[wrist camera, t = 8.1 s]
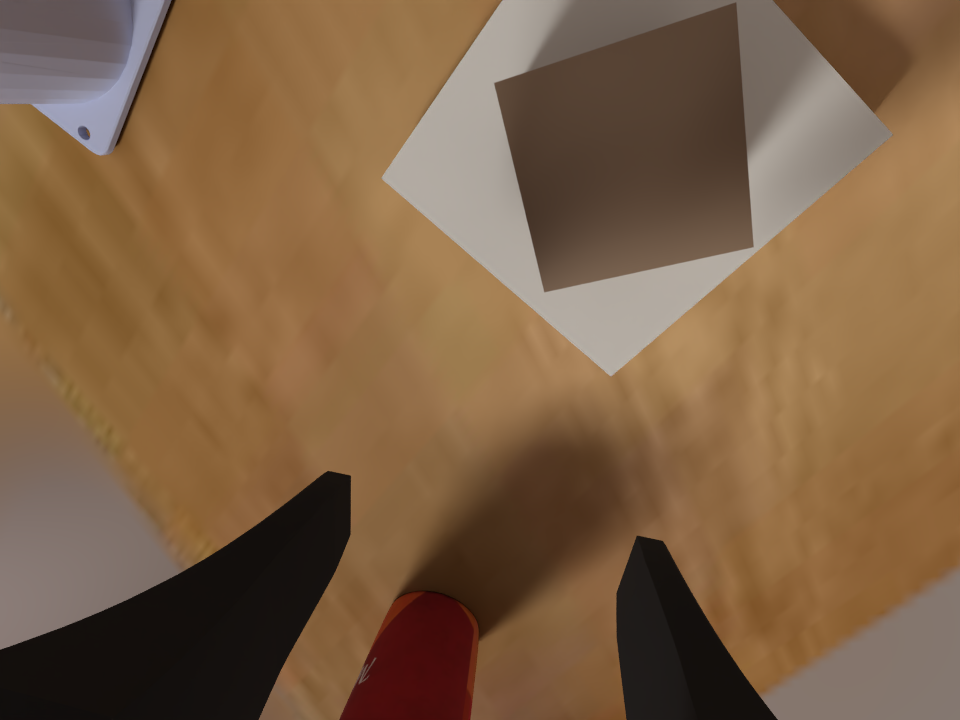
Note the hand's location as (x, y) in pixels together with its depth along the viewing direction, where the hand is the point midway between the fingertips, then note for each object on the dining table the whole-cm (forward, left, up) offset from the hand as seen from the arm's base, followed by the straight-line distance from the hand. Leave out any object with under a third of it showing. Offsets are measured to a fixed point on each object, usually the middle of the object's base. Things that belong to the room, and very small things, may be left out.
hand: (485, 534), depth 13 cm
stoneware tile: (-3, +8, -10) cm, 13 cm away
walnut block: (-3, +8, -8) cm, 12 cm away
